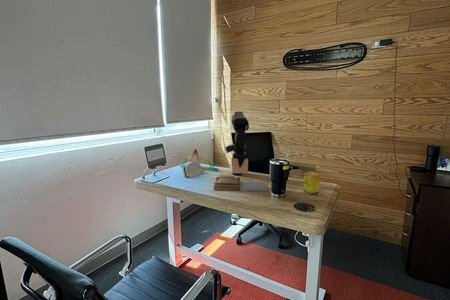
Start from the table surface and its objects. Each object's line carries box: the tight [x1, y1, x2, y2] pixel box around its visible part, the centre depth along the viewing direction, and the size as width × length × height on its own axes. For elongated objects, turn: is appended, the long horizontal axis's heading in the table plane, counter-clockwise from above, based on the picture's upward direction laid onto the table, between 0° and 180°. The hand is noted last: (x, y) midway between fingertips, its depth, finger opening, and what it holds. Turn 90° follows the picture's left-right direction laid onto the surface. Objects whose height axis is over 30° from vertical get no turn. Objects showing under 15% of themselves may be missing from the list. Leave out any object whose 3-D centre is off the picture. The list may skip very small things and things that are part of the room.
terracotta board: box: [231, 158, 249, 174], centre depth 140 cm, size 2×9×8 cm, turn 86°
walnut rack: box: [213, 176, 241, 191], centre depth 147 cm, size 17×15×2 cm
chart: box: [180, 149, 219, 172], centre depth 183 cm, size 30×3×15 cm, turn 67°
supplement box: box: [303, 171, 321, 195], centre depth 135 cm, size 6×6×11 cm
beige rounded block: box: [182, 160, 205, 179], centre depth 169 cm, size 17×5×10 cm, turn 149°
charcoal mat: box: [241, 181, 269, 192], centre depth 144 cm, size 14×14×1 cm
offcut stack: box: [217, 174, 239, 183], centre depth 151 cm, size 5×12×4 cm, turn 87°
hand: (240, 166), depth 140 cm, fingers closed on terracotta board, 2 cm apart
